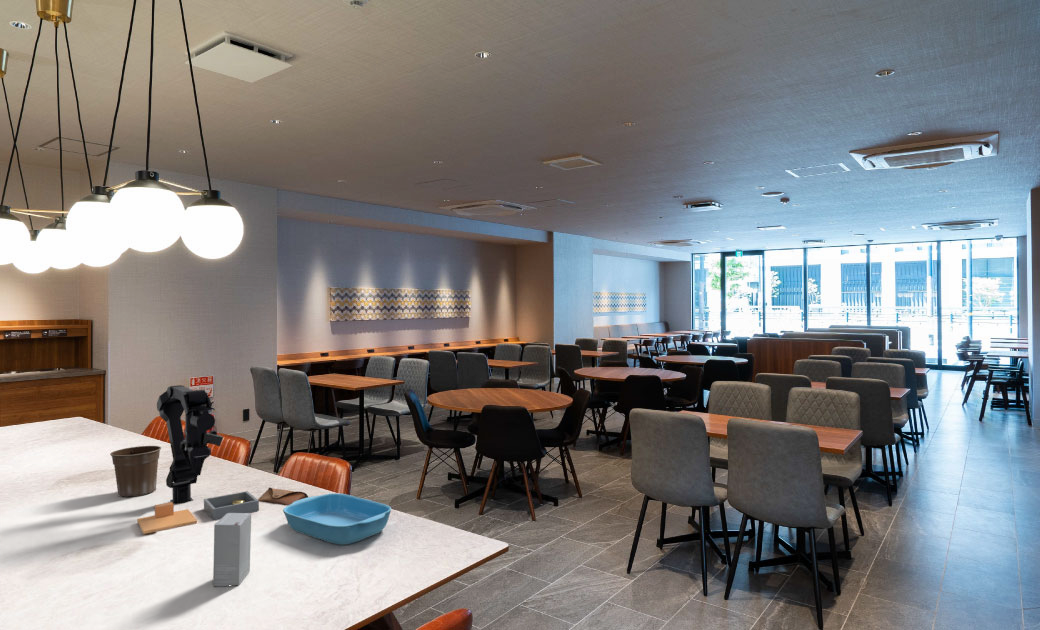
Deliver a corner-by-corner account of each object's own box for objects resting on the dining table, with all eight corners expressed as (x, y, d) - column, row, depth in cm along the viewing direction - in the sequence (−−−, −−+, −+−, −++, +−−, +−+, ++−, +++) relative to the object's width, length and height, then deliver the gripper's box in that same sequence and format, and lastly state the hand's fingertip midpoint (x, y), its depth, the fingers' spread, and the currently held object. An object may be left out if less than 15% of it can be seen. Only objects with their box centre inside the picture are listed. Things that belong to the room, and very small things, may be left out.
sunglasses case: (251, 502, 214) (258, 483, 217) (264, 507, 220) (271, 489, 223) (292, 508, 208) (299, 488, 211) (304, 512, 213) (310, 494, 217)
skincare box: (225, 573, 156) (224, 512, 156) (253, 572, 157) (252, 511, 157) (211, 588, 148) (210, 523, 147) (241, 586, 148) (240, 522, 148)
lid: (137, 524, 194) (137, 507, 194) (188, 514, 203) (187, 498, 203) (143, 537, 183) (143, 519, 183) (197, 526, 192) (196, 509, 192)
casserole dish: (270, 528, 189) (269, 506, 189) (329, 509, 207) (329, 488, 207) (346, 555, 167) (346, 530, 167) (405, 531, 185) (405, 508, 185)
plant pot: (100, 496, 223) (99, 453, 223) (142, 484, 238) (141, 444, 238) (130, 501, 217) (130, 456, 217) (171, 489, 232) (171, 447, 232)
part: (231, 504, 210) (231, 500, 210) (244, 503, 212) (244, 498, 212) (232, 508, 206) (232, 503, 206) (245, 506, 208) (245, 501, 208)
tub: (203, 510, 206) (203, 499, 206) (247, 502, 214) (247, 491, 214) (213, 521, 195) (213, 509, 195) (258, 512, 204) (258, 500, 204)
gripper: (227, 427, 204) (227, 474, 204) (214, 420, 218) (215, 463, 218) (190, 432, 197) (190, 480, 197) (179, 424, 211) (180, 468, 211)
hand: (195, 472), depth 206 cm, fingers open, 9 cm apart
